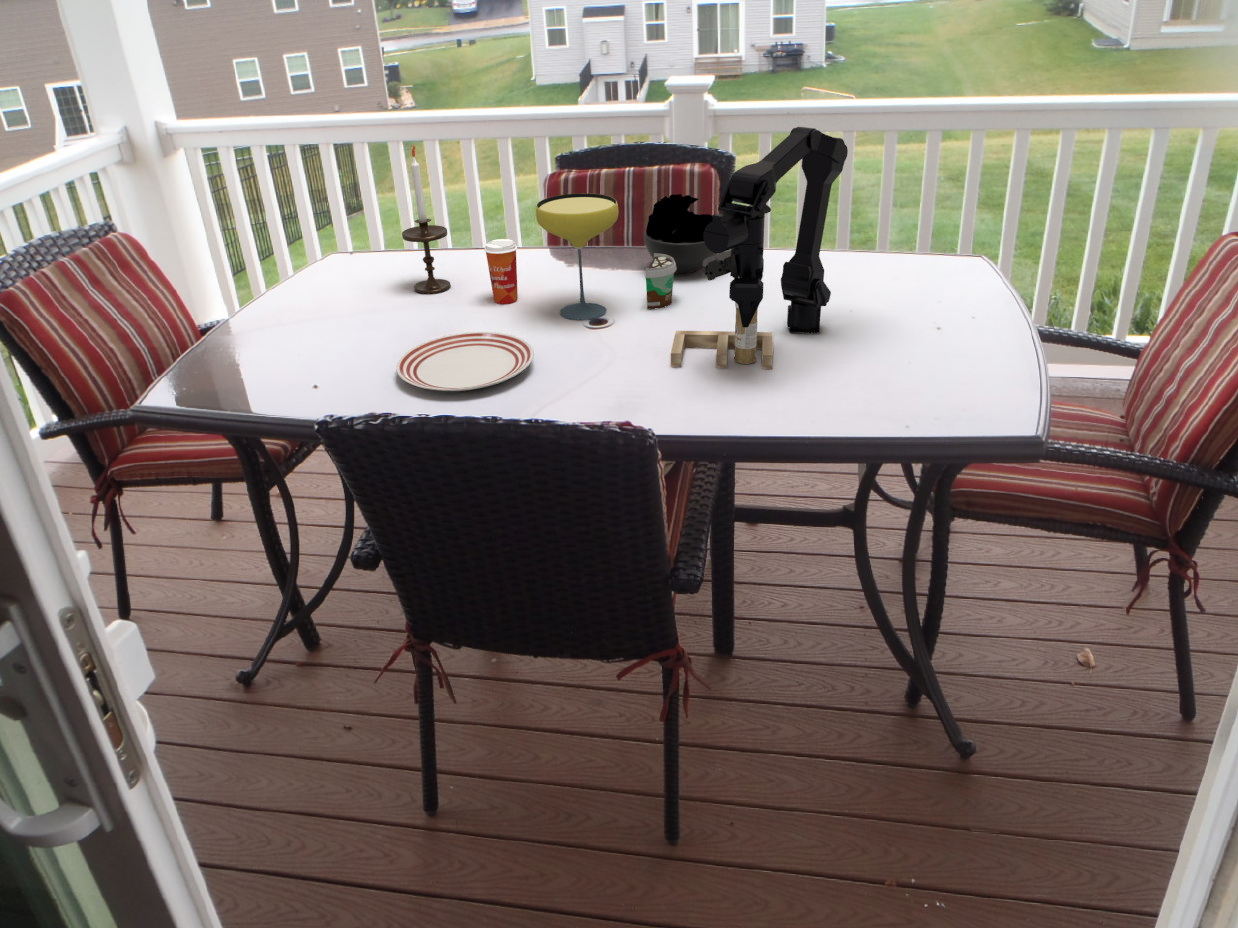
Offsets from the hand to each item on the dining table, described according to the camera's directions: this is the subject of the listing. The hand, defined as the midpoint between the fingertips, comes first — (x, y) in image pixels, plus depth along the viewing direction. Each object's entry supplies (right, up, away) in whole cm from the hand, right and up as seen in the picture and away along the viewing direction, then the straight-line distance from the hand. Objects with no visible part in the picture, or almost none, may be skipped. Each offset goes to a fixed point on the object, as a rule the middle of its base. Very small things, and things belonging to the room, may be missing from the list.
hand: (745, 318), depth 182 cm
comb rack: (-4, -7, +7) cm, 10 cm away
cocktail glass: (-33, +6, +32) cm, 46 cm away
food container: (-14, +9, +36) cm, 39 cm away
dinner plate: (-56, -10, +5) cm, 57 cm away
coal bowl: (-8, +21, +55) cm, 59 cm away
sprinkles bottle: (0, -8, +5) cm, 9 cm away
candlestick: (-72, +15, +50) cm, 89 cm away
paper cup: (-52, +11, +41) cm, 67 cm away
